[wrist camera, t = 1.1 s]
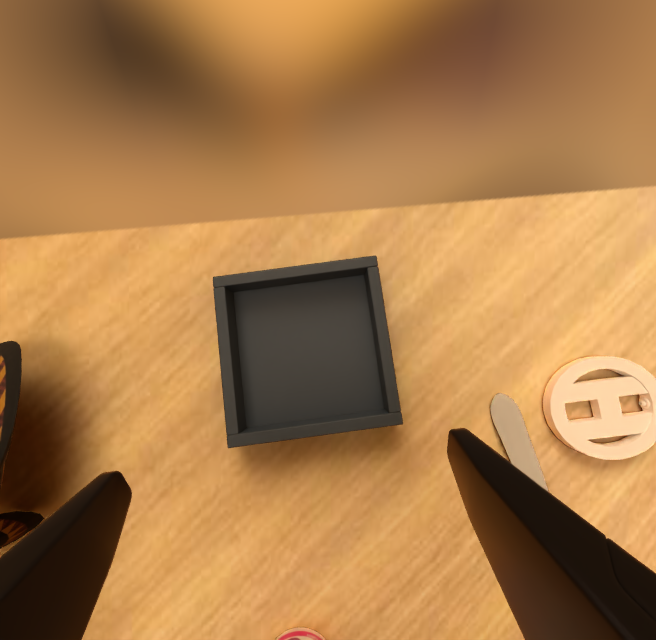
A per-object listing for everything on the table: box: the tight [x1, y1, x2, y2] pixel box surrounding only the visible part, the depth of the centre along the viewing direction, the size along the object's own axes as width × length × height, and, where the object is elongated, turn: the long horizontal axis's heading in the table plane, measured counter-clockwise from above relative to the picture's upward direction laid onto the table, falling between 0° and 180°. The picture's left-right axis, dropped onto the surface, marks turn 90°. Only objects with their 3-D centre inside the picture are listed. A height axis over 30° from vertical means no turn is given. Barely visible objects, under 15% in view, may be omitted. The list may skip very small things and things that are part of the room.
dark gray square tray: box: [213, 256, 403, 448], centre depth 23 cm, size 12×12×2 cm
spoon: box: [490, 393, 549, 492], centre depth 21 cm, size 4×21×2 cm, turn 17°
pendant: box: [543, 356, 656, 460], centre depth 23 cm, size 7×11×1 cm, turn 97°
